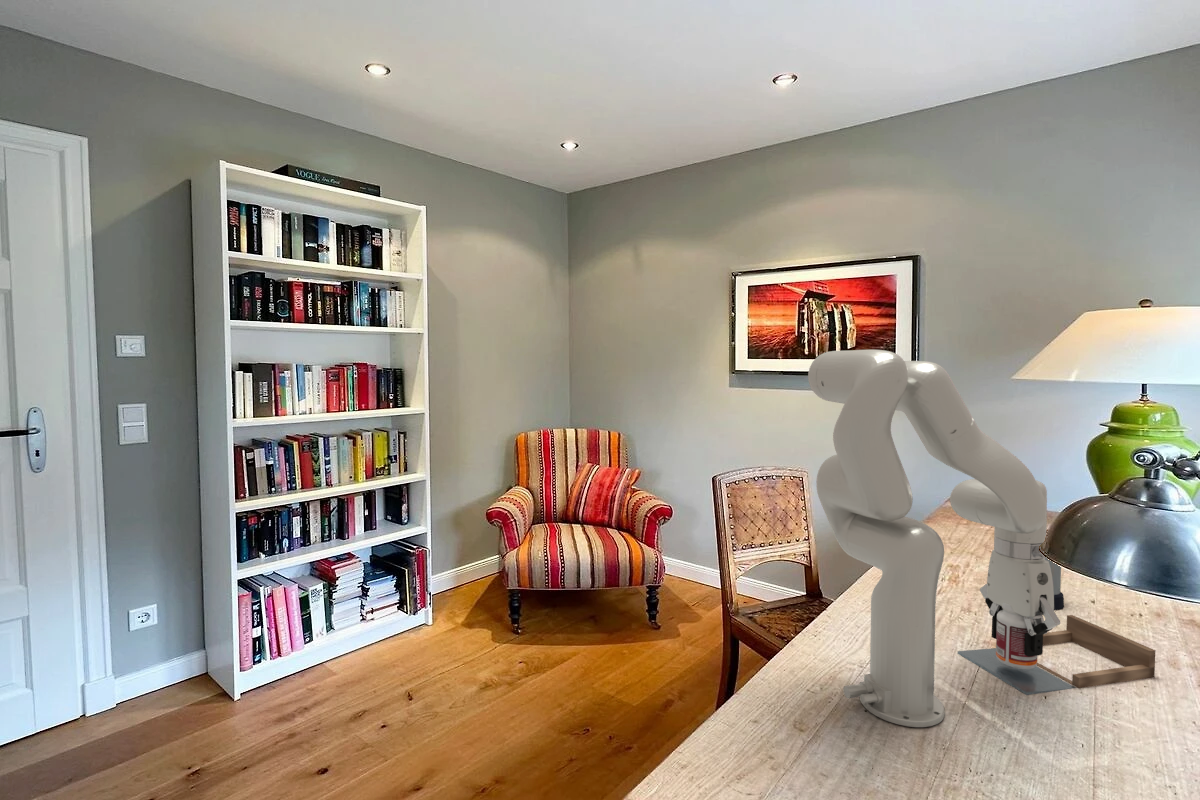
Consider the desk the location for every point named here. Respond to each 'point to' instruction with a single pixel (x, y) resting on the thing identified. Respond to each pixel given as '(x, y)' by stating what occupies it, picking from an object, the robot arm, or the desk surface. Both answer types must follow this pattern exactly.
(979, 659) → the metal panel
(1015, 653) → the pill bottle
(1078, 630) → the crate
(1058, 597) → the humidifier
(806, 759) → the desk surface
